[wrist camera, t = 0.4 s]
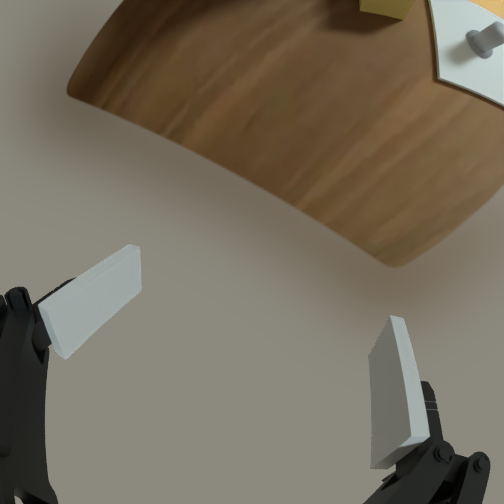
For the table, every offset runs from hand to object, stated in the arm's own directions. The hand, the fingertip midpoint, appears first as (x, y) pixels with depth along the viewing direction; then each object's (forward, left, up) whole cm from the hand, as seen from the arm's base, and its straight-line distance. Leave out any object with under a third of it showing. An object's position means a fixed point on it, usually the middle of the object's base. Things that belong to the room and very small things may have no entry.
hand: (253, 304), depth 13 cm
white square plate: (-29, +26, -27) cm, 47 cm away
